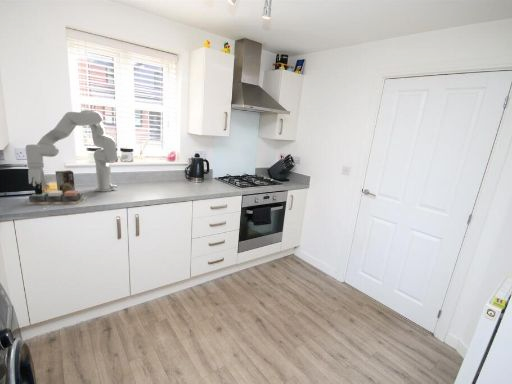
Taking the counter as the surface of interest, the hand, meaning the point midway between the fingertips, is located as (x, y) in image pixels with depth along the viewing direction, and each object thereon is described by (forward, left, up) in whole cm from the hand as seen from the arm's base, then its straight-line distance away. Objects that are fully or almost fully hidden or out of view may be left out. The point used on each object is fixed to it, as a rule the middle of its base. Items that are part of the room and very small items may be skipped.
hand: (38, 193), depth 164 cm
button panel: (-9, 0, -5) cm, 10 cm away
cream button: (-9, 0, -2) cm, 9 cm away
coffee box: (-9, -20, -5) cm, 23 cm away
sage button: (0, 0, -3) cm, 4 cm away
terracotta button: (-17, 0, -2) cm, 17 cm away
